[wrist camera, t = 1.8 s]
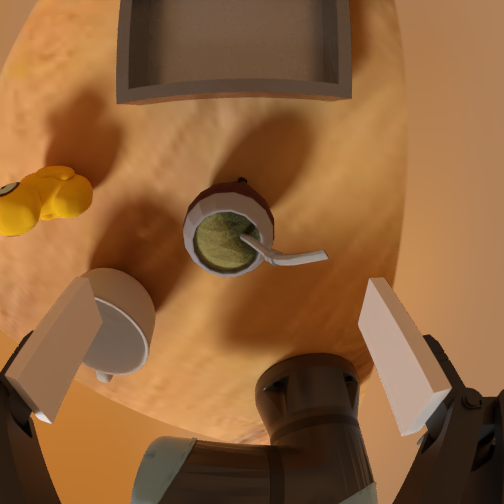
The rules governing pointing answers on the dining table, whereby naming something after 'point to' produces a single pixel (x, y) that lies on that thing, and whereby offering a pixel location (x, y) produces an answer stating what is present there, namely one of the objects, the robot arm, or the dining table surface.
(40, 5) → the dining table surface
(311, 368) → the robot arm
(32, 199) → the duckling
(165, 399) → the dining table surface
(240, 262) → the mate gourd
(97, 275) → the teacup
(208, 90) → the tray
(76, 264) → the dining table surface
